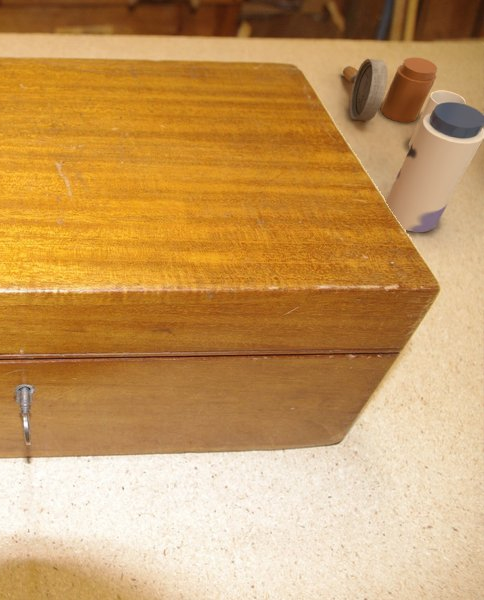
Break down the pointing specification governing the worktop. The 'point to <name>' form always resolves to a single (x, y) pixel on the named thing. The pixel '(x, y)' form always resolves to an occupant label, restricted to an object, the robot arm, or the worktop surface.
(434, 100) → the mug
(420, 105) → the jar
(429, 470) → the worktop surface
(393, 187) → the container
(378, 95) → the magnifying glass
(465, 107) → the lid
